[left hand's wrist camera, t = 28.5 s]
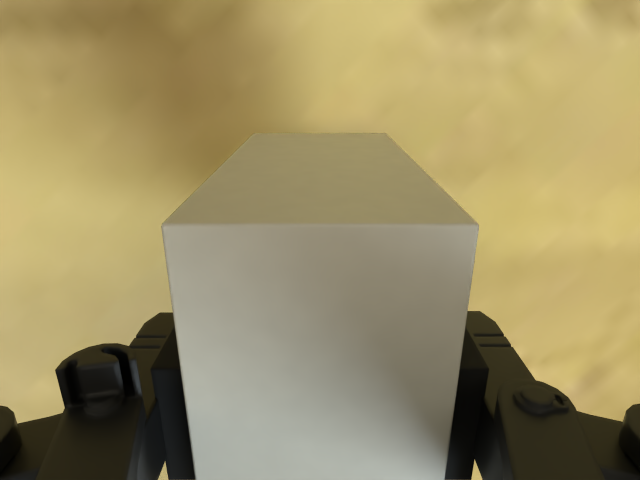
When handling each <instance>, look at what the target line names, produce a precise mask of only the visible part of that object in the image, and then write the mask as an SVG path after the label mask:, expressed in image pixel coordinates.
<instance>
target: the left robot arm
mask: <svg viewBox="0 0 640 480" xmlns="http://www.w3.org/2000/svg"><path fill="white" fill-rule="evenodd" d="M55 371H56V375H57V379H58V383H59V387H60V390H61V394H62V398H63V402H64V406H65V409H64V411H63V413H61V414H57V415H54V416H50V417H46V418H41V419H37V420H32V421H28V422H23V423H19V424H17V421H16V418H15V415H14V412H13V411H11V410H10V409H9V408H8V407H5V406H0V480H158V478H159V475H160V472H161V470H162V467H163V465H164V462H165V461H166V467H167V473H168V479H169V480H195V472H194V465H193V458H192V450H191V443H190V435H189V428H188V420H187V413H186V406H185V398H184V391H183V383H182V376H181V368H180V361H179V354H178V346H177V339H176V331H175V324H174V316H173V313H159V314H157V315H156V316H154V317H153V318H152V319H150V320H149V321H147V322H146V323H145V324H144V325H143V326H142V328H141V329H140V331H139V332H138V334H137V335H136V338H134V340H133V341H132V342H131V344H130V345H129V346H126V345H122V344H118V343H112V344H100V345H96V346H91V347H88V348H85V349H83V350H80V351H78V352H76V353H74V354H72V355H71V356H69V357H68V358H66V359H65V360H63V361H62V362H61V364H60V365H59V366H58V367H57V369H56V370H55ZM474 459H475V461H476V463H477V466H478V469H479V471H480V474H481V476H482V480H640V404H635V405H632V406H631V407H630V408H629V409H628V410H626V413H625V417H624V420H623V422H621V421H616V420H612V419H607V418H603V417H598V416H594V415H589V414H586V413H582V412H579V411H576V408H575V406H574V405H573V404H572V402H571V401H570V399H569V398H568V397H567V396H566V395H564V394H563V393H562V392H560V391H559V390H558V389H556V388H554V387H552V386H550V385H548V384H546V383H544V382H540V381H536V380H535V379H534V377H533V376H532V374H531V373H530V372H529V370H528V369H527V367H526V366H525V364H524V363H523V361H522V360H521V358H520V357H519V356H518V354H517V353H516V351H515V350H514V348H513V347H511V344H510V343H509V341H508V340H507V338H506V337H504V334H503V332H502V331H501V330H500V328H499V327H498V325H497V324H496V322H495V321H493V320H492V319H490V318H489V317H488V316H486V315H485V314H483V313H482V312H480V311H467V318H466V325H465V333H464V340H463V347H462V355H461V362H460V369H459V377H458V384H457V391H456V399H455V406H454V413H453V421H452V428H451V435H450V443H449V450H448V457H447V465H446V472H445V479H444V480H471V477H472V471H473V465H474Z"/></svg>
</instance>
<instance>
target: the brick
mask: <svg viewBox="0 0 640 480" xmlns="http://www.w3.org/2000/svg"><path fill="white" fill-rule="evenodd" d="M161 227H162V235H163V242H164V250H165V257H166V264H167V272H168V279H169V287H170V294H171V302H172V309H173V316H174V324H175V331H176V339H177V346H178V354H179V361H180V368H181V376H182V383H183V391H184V398H185V406H186V413H187V420H188V428H189V435H190V443H191V450H192V458H193V465H194V472H195V480H444V479H445V472H446V465H447V457H448V450H449V443H450V435H451V428H452V421H453V413H454V406H455V399H456V391H457V384H458V377H459V369H460V362H461V355H462V347H463V340H464V333H465V325H466V318H467V311H468V303H469V296H470V289H471V281H472V274H473V267H474V259H475V252H476V245H477V237H478V230H479V225H478V223H477V222H476V221H475V220H474V219H473V218H472V217H471V216H470V215H469V214H468V213H467V212H466V211H465V210H464V209H463V208H462V207H461V206H460V205H459V204H458V203H457V202H456V201H455V200H453V199H452V198H451V197H450V196H449V195H448V194H447V193H446V192H445V191H444V190H443V189H442V188H441V187H440V186H439V185H438V184H437V183H436V182H435V181H434V180H433V179H432V178H431V177H430V176H429V175H428V174H427V173H426V172H425V171H424V170H423V169H422V168H421V167H420V166H419V165H418V164H417V163H416V162H415V161H414V160H413V159H412V158H411V157H410V156H409V155H408V154H407V153H405V152H404V151H403V150H402V149H401V148H400V147H399V146H398V145H397V144H396V143H395V142H394V141H393V140H392V139H391V138H390V137H389V136H388V135H387V134H386V133H254V134H252V135H251V136H250V137H249V138H248V139H247V140H246V141H245V142H244V143H243V144H242V145H241V146H240V147H239V148H238V149H237V150H236V151H235V152H234V153H233V154H232V155H231V156H230V157H229V158H228V159H227V160H226V161H225V162H224V163H223V164H222V165H221V166H220V167H219V168H218V169H217V170H216V171H215V172H214V173H213V174H212V175H211V176H210V177H209V178H208V179H207V180H206V181H205V182H204V183H203V184H202V185H201V186H200V187H199V188H198V189H197V190H196V191H195V192H194V193H193V194H192V195H191V196H190V197H189V198H188V199H187V200H186V201H185V202H184V203H183V204H182V205H181V206H179V207H178V208H177V209H176V210H175V211H174V212H173V213H172V214H171V215H170V216H169V217H168V218H167V219H166V220H165V221H164V222H163V223H162V226H161Z"/></svg>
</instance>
